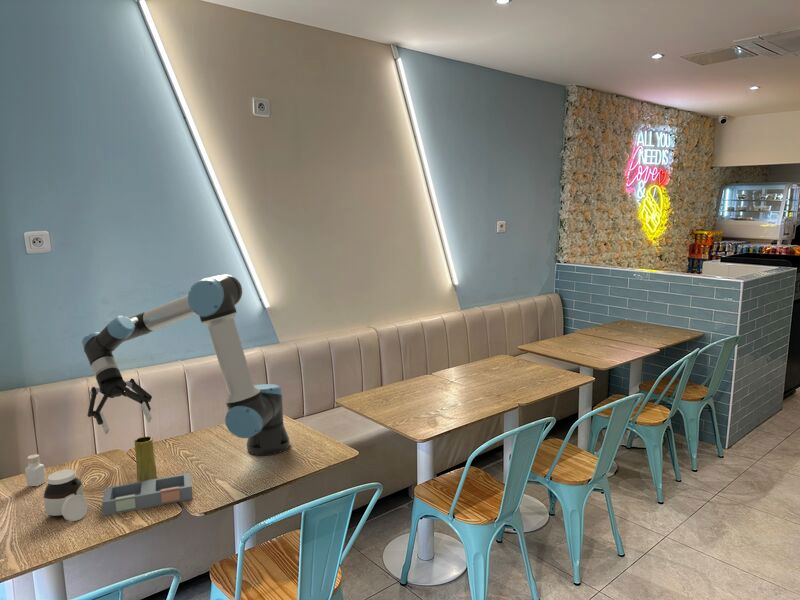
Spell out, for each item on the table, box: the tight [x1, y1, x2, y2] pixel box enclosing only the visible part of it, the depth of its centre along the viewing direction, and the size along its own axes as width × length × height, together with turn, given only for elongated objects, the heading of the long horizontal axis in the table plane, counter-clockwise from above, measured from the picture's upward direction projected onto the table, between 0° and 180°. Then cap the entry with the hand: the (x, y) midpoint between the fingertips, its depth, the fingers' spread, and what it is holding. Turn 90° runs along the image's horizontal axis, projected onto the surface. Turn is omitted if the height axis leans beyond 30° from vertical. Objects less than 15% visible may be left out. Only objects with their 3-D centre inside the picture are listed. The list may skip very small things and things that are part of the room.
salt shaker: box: [24, 453, 47, 487], centre depth 186 cm, size 4×4×10 cm
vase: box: [133, 436, 158, 482], centre depth 185 cm, size 6×6×14 cm
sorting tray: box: [101, 472, 193, 517], centre depth 174 cm, size 24×10×4 cm, turn 111°
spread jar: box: [43, 469, 89, 522], centre depth 166 cm, size 12×11×12 cm
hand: (129, 425), depth 191 cm, fingers open, 13 cm apart
